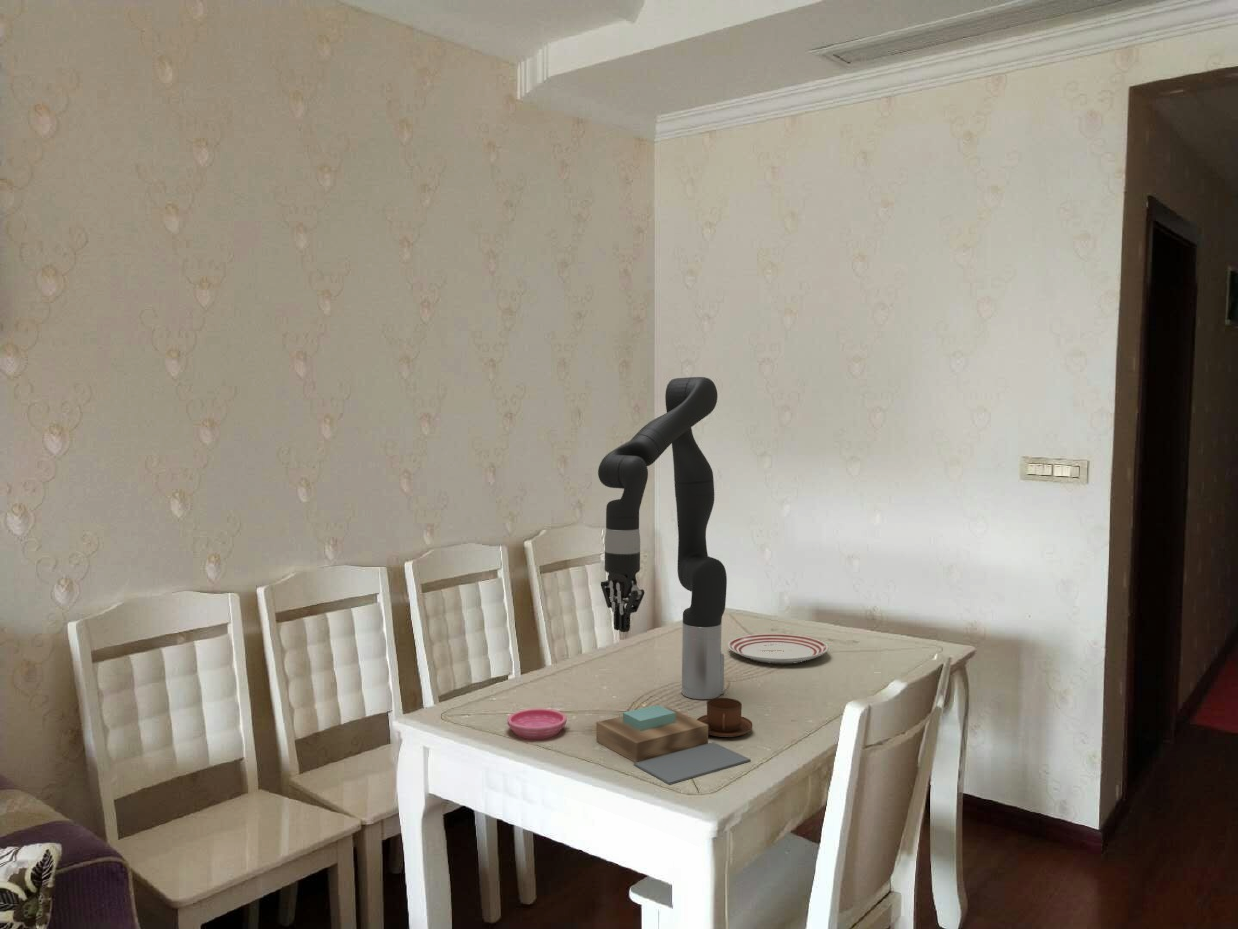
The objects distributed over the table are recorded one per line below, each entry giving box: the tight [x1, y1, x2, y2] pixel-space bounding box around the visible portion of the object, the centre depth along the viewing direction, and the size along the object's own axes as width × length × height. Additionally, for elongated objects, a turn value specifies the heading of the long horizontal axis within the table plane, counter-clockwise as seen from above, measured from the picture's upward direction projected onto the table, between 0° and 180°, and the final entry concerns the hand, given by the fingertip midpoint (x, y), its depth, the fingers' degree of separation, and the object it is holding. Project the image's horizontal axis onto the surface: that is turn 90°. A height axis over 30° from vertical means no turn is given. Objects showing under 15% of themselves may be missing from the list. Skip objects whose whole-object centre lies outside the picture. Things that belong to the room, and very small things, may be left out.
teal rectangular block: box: [622, 704, 676, 731], centre depth 192 cm, size 9×6×2 cm, turn 125°
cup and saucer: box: [696, 697, 753, 738], centre depth 199 cm, size 12×12×6 cm
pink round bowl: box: [506, 708, 567, 740], centre depth 198 cm, size 12×12×3 cm
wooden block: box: [595, 705, 709, 763], centre depth 191 cm, size 18×14×4 cm
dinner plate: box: [727, 633, 829, 664], centre depth 259 cm, size 28×27×3 cm
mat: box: [633, 741, 751, 785], centre depth 181 cm, size 20×11×1 cm, turn 125°
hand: (621, 630), depth 199 cm, fingers closed
